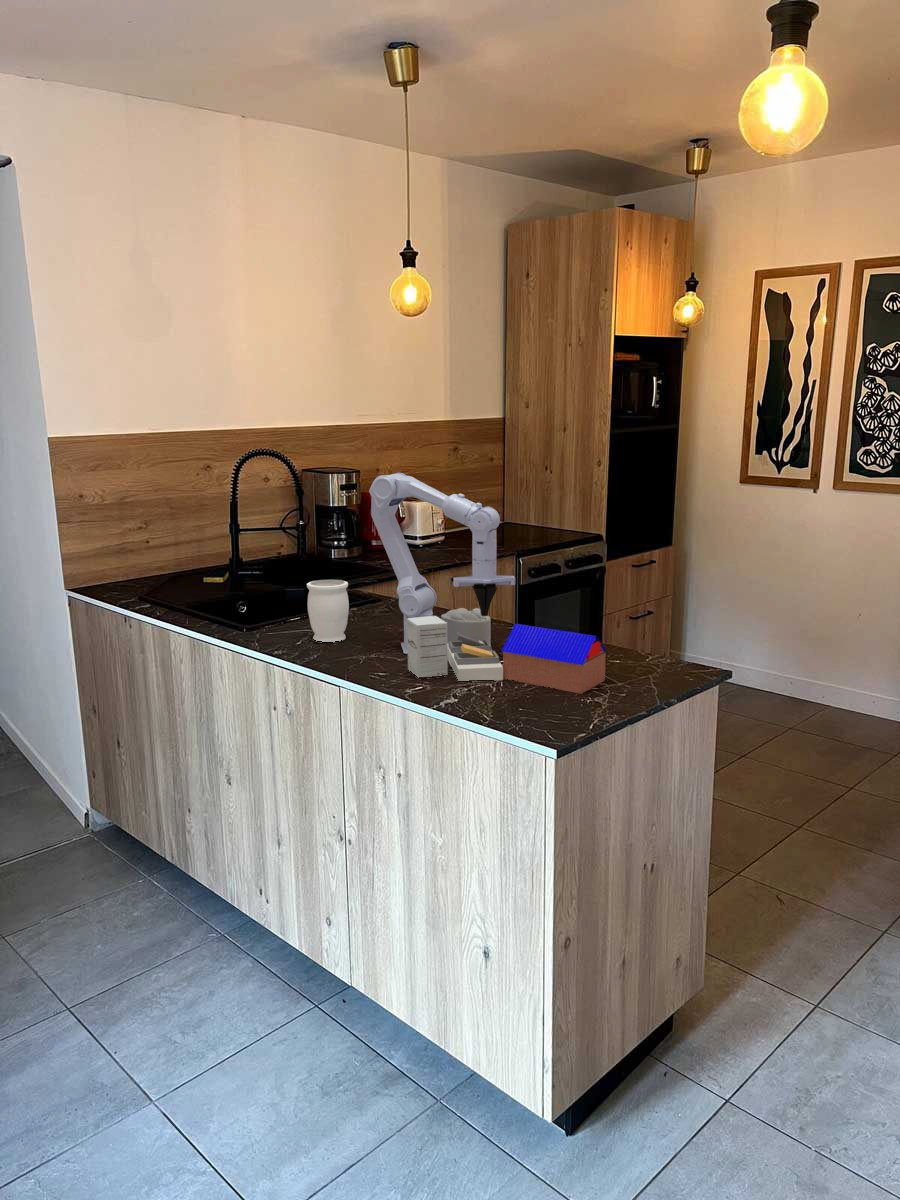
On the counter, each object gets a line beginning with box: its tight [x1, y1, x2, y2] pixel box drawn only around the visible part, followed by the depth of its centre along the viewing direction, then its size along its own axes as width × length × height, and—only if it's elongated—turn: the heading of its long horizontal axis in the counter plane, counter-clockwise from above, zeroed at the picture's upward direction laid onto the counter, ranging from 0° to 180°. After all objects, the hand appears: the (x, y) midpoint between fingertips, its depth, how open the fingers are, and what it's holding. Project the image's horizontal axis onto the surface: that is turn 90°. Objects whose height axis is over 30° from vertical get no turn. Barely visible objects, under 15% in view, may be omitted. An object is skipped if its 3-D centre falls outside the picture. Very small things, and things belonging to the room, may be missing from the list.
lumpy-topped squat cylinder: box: [440, 607, 492, 646], centre depth 234 cm, size 10×13×9 cm
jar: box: [306, 579, 350, 643], centre depth 238 cm, size 11×10×15 cm
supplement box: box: [407, 615, 449, 679], centre depth 208 cm, size 7×7×13 cm
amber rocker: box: [461, 644, 493, 658], centre depth 208 cm, size 4×7×1 cm, turn 98°
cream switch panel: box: [447, 640, 504, 682], centre depth 213 cm, size 22×10×4 cm, turn 8°
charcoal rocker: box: [455, 632, 486, 646], centre depth 218 cm, size 4×7×1 cm, turn 98°
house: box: [501, 623, 608, 695], centre depth 203 cm, size 12×20×12 cm, turn 55°
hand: (484, 615), depth 220 cm, fingers closed
